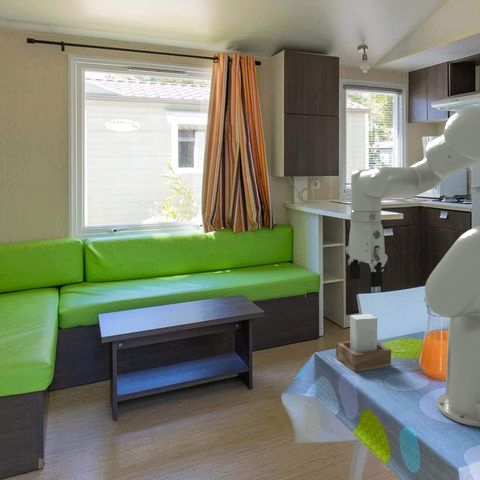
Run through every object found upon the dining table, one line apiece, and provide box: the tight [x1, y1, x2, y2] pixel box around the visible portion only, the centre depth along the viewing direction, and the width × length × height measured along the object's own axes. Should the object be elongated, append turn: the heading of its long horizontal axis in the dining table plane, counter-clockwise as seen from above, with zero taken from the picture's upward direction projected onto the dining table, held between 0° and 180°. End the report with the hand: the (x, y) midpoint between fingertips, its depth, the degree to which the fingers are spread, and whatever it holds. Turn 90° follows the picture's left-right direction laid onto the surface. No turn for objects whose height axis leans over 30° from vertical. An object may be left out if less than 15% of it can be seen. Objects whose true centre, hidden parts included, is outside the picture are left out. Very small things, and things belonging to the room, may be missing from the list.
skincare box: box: [349, 313, 378, 353], centre depth 117 cm, size 6×4×12 cm
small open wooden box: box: [335, 340, 392, 373], centre depth 117 cm, size 9×11×4 cm
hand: (364, 282), depth 114 cm, fingers open, 9 cm apart
